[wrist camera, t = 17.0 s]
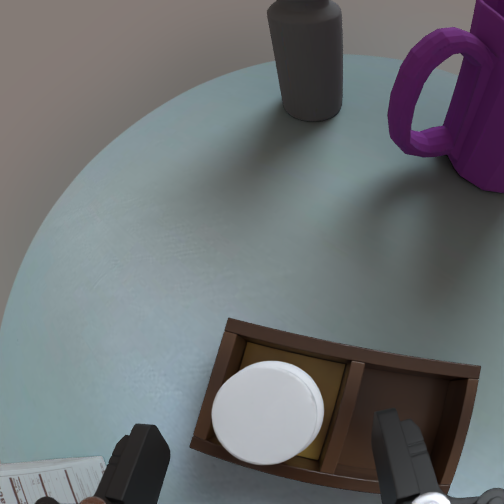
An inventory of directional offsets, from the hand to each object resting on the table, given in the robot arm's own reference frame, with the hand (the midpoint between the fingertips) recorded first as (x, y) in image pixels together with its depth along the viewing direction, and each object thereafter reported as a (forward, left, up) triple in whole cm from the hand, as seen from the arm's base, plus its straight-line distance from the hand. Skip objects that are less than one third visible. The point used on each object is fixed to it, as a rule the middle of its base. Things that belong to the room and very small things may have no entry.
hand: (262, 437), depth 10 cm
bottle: (+27, +4, -10) cm, 29 cm away
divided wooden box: (+1, -3, -10) cm, 10 cm away
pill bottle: (+1, 0, -9) cm, 9 cm away
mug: (+23, -10, -10) cm, 27 cm away
